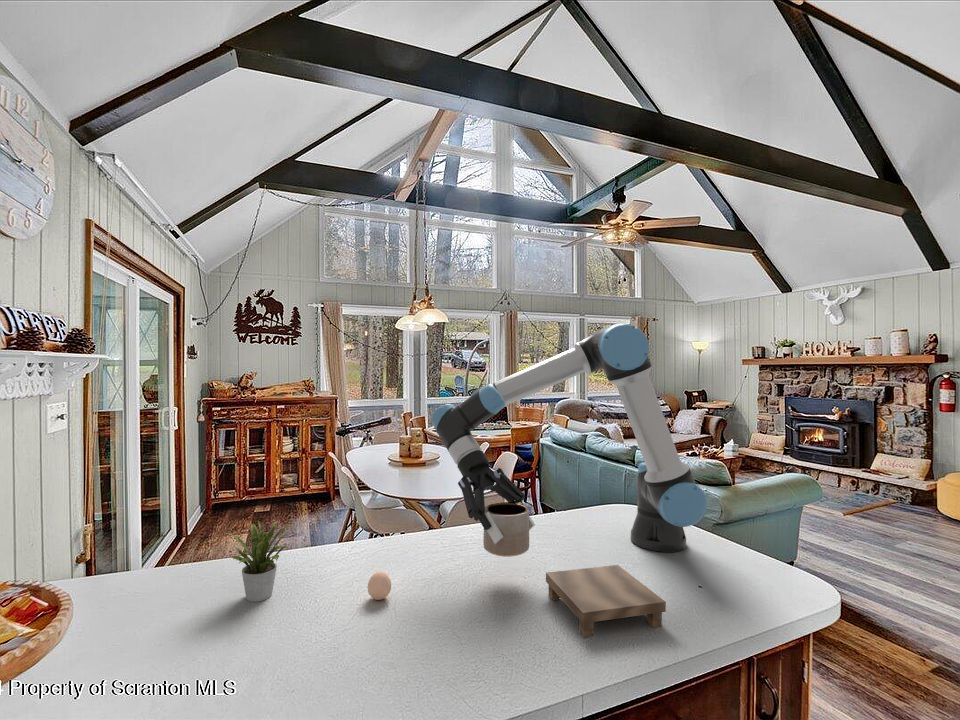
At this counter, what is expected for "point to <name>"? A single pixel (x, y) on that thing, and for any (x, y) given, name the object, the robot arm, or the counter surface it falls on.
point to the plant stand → (604, 596)
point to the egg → (379, 585)
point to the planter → (508, 529)
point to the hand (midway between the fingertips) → (515, 534)
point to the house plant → (259, 563)
